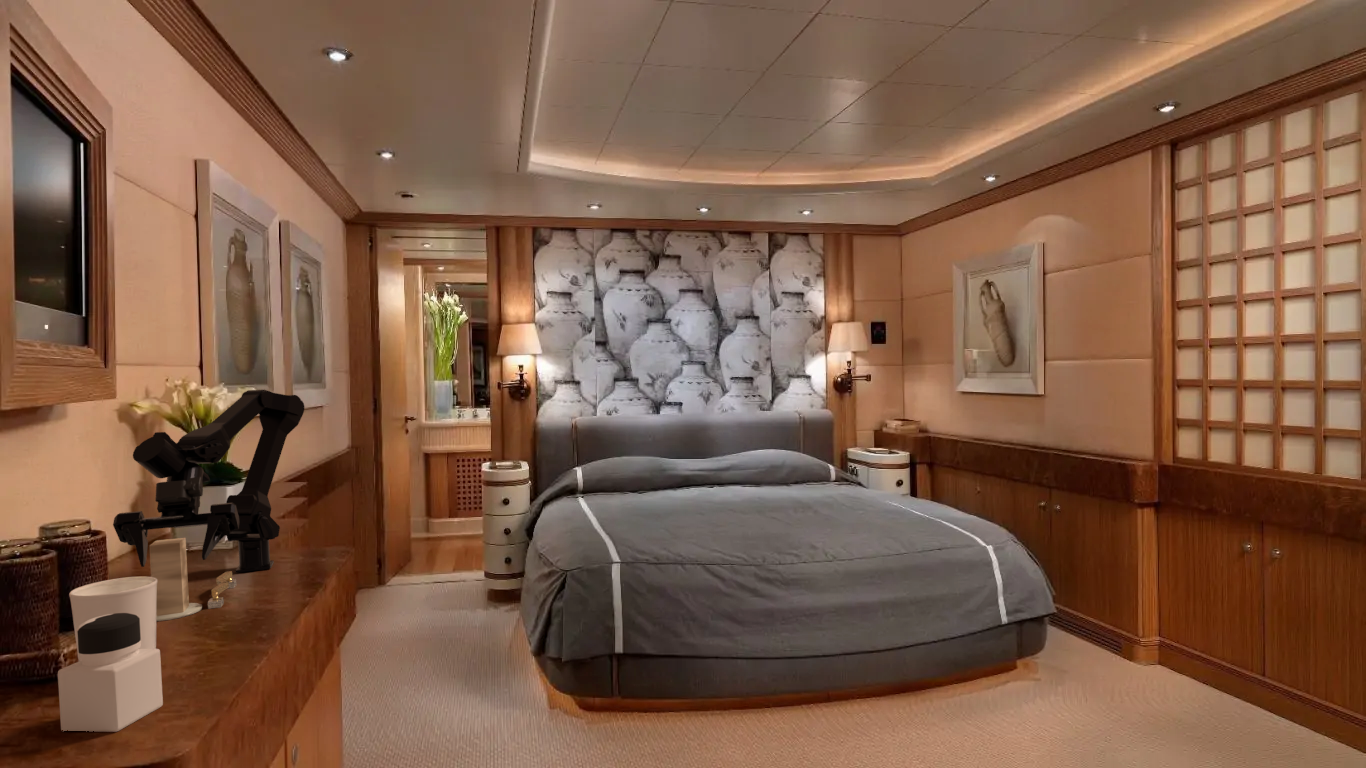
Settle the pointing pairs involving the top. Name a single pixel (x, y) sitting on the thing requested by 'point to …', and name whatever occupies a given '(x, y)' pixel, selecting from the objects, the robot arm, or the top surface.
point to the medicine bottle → (109, 677)
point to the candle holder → (119, 603)
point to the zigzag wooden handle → (221, 589)
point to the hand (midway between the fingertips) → (173, 562)
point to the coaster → (189, 611)
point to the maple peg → (170, 575)
